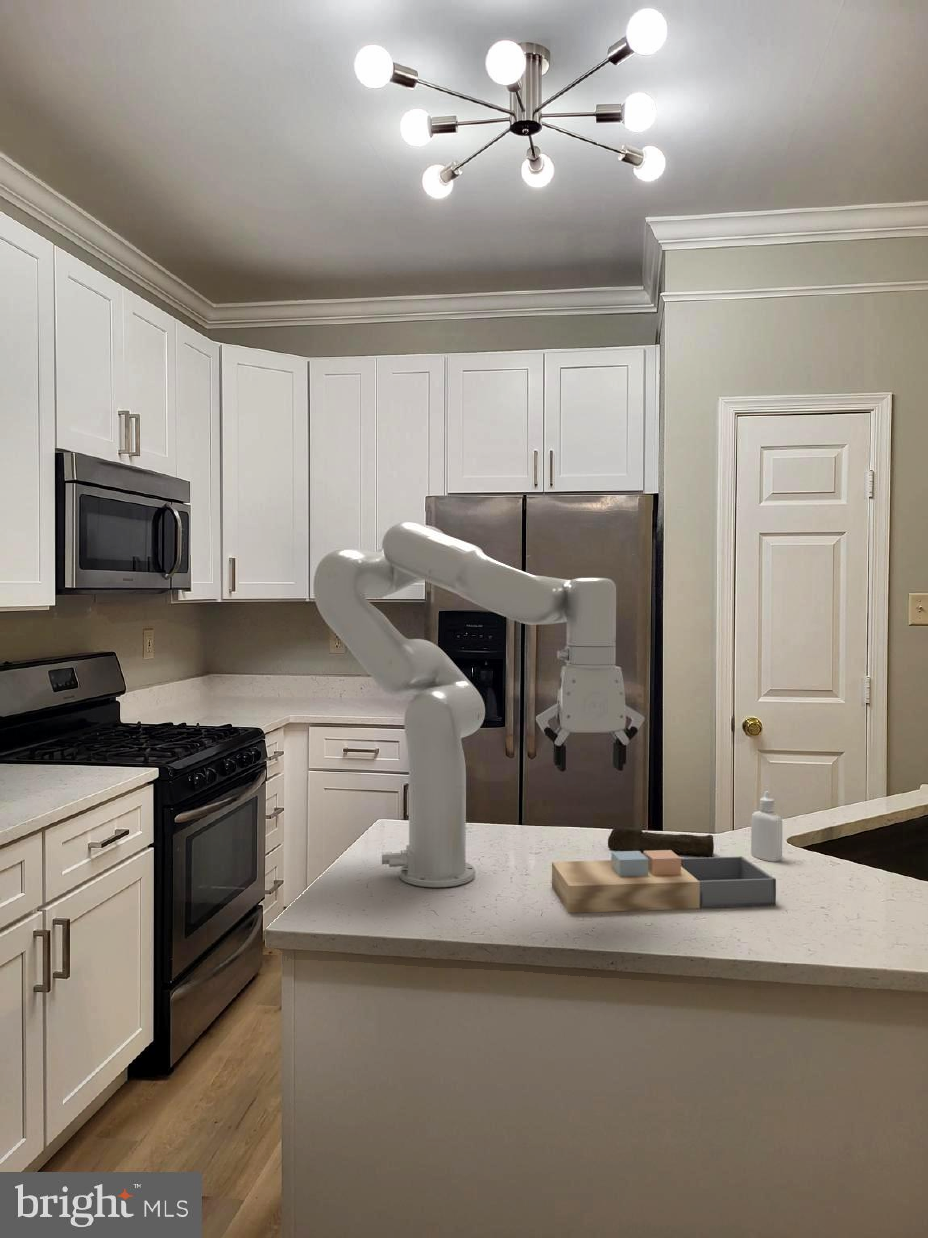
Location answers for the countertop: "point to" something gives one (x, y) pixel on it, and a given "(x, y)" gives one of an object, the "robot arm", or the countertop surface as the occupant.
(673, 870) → the terracotta tile
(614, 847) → the hand tool
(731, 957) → the countertop surface
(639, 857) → the pale blue tile
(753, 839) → the eye dropper bottle
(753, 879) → the tray
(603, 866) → the oak board
